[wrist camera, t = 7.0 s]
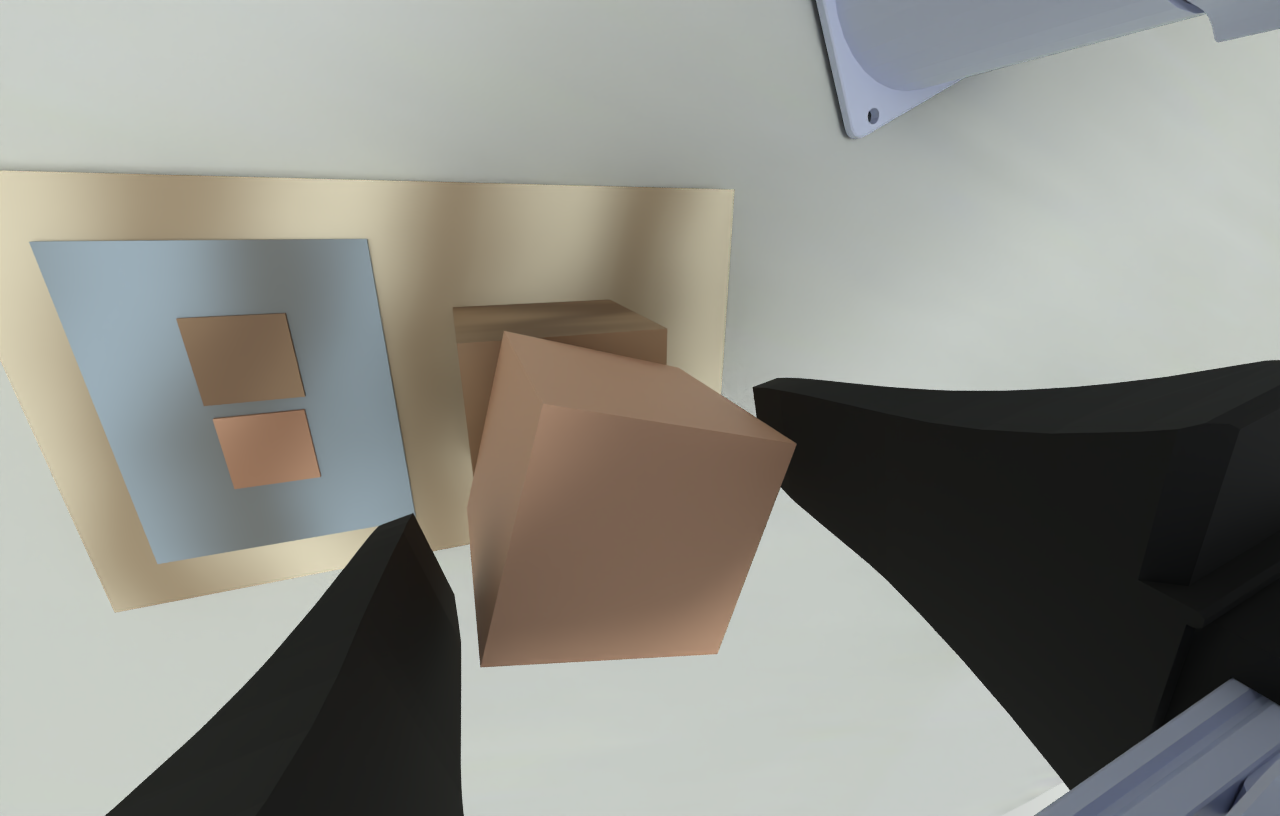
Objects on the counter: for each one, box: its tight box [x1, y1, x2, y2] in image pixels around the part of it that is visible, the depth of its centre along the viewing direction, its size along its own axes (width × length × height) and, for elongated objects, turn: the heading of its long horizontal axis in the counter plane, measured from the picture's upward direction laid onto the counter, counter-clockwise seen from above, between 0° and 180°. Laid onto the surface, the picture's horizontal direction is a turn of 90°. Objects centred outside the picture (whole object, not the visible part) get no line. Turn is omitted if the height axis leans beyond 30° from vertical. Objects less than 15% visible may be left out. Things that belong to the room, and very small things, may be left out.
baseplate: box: [0, 171, 734, 613], centre depth 14 cm, size 20×12×6 cm, turn 89°
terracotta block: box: [467, 331, 797, 667], centre depth 11 cm, size 4×4×5 cm
